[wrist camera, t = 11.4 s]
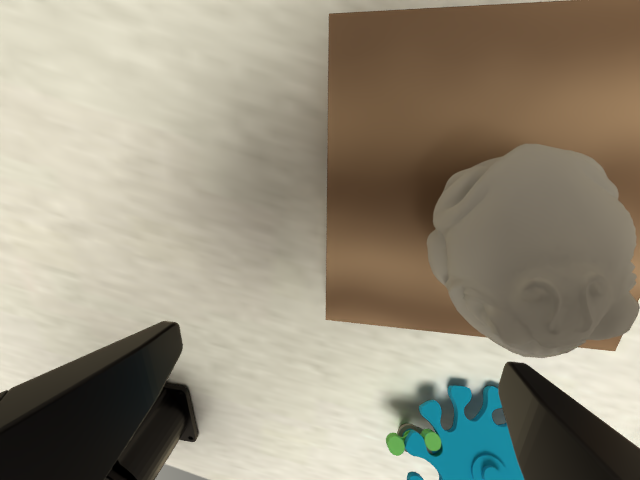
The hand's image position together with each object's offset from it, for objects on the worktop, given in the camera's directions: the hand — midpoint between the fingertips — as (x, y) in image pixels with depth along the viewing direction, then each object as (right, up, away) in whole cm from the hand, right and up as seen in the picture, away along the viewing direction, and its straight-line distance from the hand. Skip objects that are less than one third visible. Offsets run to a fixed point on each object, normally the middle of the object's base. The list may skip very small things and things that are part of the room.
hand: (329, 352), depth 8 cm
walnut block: (+8, +6, +9) cm, 13 cm away
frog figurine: (+7, +5, +6) cm, 10 cm away
